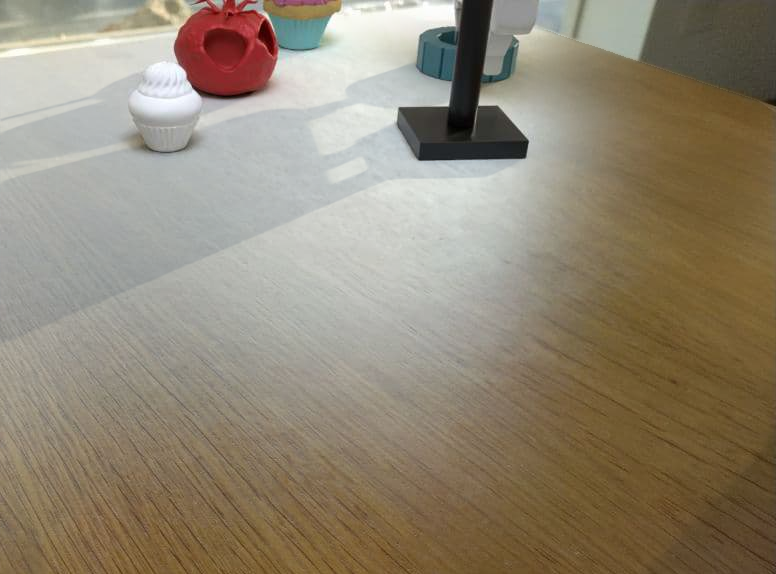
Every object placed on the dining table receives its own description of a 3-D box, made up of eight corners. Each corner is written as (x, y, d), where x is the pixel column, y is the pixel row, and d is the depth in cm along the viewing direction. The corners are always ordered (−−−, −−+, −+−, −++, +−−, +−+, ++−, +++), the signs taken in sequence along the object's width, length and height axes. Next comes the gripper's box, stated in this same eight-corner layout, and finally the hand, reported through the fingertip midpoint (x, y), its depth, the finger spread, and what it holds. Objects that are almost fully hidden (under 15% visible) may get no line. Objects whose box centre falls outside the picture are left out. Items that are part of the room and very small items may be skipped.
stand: (495, 121, 88) (521, -41, 80) (526, 158, 81) (557, -17, 73) (396, 123, 87) (412, -40, 80) (418, 160, 80) (438, -16, 72)
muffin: (218, 144, 83) (218, 60, 79) (166, 164, 79) (163, 76, 75) (167, 127, 86) (164, 46, 82) (115, 146, 82) (109, 61, 78)
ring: (497, 54, 106) (502, 25, 104) (525, 81, 98) (531, 50, 96) (408, 55, 105) (411, 26, 104) (428, 83, 97) (432, 52, 96)
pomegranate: (157, 81, 97) (153, -19, 92) (242, 66, 102) (242, -30, 96) (210, 109, 90) (208, 3, 85) (298, 91, 95) (302, -11, 90)
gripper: (572, -78, 81) (541, 91, 89) (501, -112, 98) (479, 32, 105) (497, -77, 80) (472, 91, 88) (438, -112, 97) (422, 32, 105)
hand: (476, 59), depth 97 cm, fingers open, 8 cm apart
